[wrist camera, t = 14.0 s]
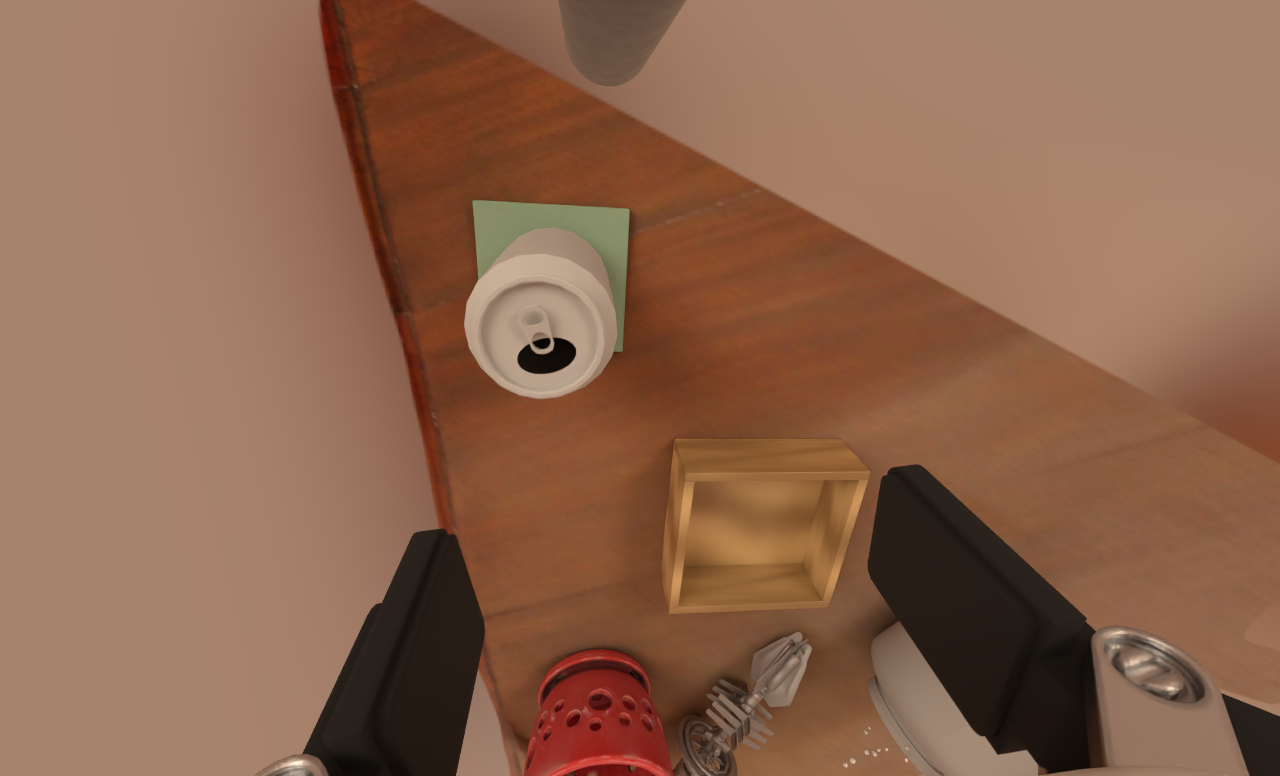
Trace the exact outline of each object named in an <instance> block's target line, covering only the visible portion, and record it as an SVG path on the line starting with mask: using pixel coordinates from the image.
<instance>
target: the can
mask: <svg viewBox="0 0 1280 776" xmlns="http://www.w3.org/2000/svg"><path fill="white" fill-rule="evenodd" d="M464 327H465V332H466V336H467V341H468V345H469V349H470V350H471V352H472V354H473V355H474V357H475V359H476V360H477V362H478V364H479V365H480V367H481V368H482V369H483V370H484V371H485V372H486V373H487V374H488V375H489V376H490V377H491V378H492V379H493V380H494V381H495V382H496V383H498V384H499V385H500V386H501V387H503V388H505V389H507V390H509V391H511V392H513V393H515V394H517V395H519V396H524V397H530V398H535V399H547V398H557V397H561V396H564V395H566V394H569V393H571V392H574V391H576V390H579V389H581V388H584V387H585V386H586V385H587V384H589V383H590V382H591V381H592V380H594V379H595V378H596V377H597V376H599V375H600V374H601V372H602V371H603V369H604V368H605V366H606V365H607V363H608V362H609V360H610V358H611V357H612V355H613V351H614V347H615V343H616V339H617V323H616V312H615V307H614V302H613V297H612V292H611V288H610V283H609V278H608V273H607V271H606V268H605V266H604V263H603V261H602V259H601V256H600V255H599V254H598V253H597V251H596V250H595V249H594V248H593V247H592V246H591V244H590V243H589V242H588V241H586V240H584V239H583V238H581V237H580V236H578V235H576V234H575V233H573V232H570V231H566V230H562V229H558V228H542V229H535V230H532V231H530V232H528V233H525V234H523V235H521V236H519V237H518V238H517V239H516V240H514V241H513V242H512V243H511V244H510V245H509V246H508V247H507V248H506V249H505V250H504V251H503V252H502V254H501V255H500V256H499V257H498V258H497V259H496V261H495V262H494V263H493V264H492V265H491V266H490V268H489V269H488V270H487V271H486V272H485V273H484V275H483V276H482V277H481V278H480V279H479V280H478V282H477V284H476V286H475V288H474V290H473V292H472V293H471V295H470V297H469V299H468V301H467V306H466V314H465V322H464Z"/></svg>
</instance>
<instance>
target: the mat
mask: <svg viewBox="0 0 1280 776" xmlns="http://www.w3.org/2000/svg"><path fill="white" fill-rule="evenodd" d="M473 213H474V226H475V239H476V252H477V266H478V279H480V278H481V277H482V276H483V275H484V273H485V272H486V271H487V270H488V269H489V268H490V266H491V265H492V264H493V263H494V262H495V261H496V259H497V258H498V257H499V256H500V255H501V254H502V252H503V251H504V250H505V249H506V248H507V247H508V246H509V245H510V244H511V243H512V242H513V241H514V240H516V239H517V238H518V237H519V236H521V235H523V234H525V233H528V232H530V231H532V230H535V229H542V228H558V229H562V230H566V231H570V232H573V233H575V234H576V235H578V236H580V237H581V238H583V239H584V240H586V241H588V242H589V243H590V244H591V246H592V247H593V248H594V249H595V250H596V251H597V253H598V254H599V255H600V256H601V259H602V261H603V263H604V266H605V268H606V271H607V273H608V278H609V283H610V288H611V292H612V297H613V302H614V307H615V312H616V323H617V339H616V343H615V347H614V351H613V352H622V351H623V334H624V314H625V295H626V275H627V255H628V235H629V216H630V209H625V208H608V207H590V206H573V205H555V204H538V203H521V202H503V201H486V200H473Z"/></svg>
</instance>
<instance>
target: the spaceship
mask: <svg viewBox="0 0 1280 776" xmlns="http://www.w3.org/2000/svg"><path fill="white" fill-rule="evenodd" d="M802 637H803V636H802V634H801V633H800V632H799V631H798V632H796V633H794V634H792V635H790V636H788V637H783V638H781V639H779V640H777V641H776V642H774V643H772V644H770V645H768V646H766V647H765V648H763V649H761V650H759V651H757V652H755V653H754V656H753V662H752V667H751V673H750V677H751V679H752V680H753V682H754V686H755V687H754V689H752V691H751V692H750V693H749V691H747V684H745V682H744V683H743V685H742V690H741V689H739V688H737V687H735V686H733V685H732V684H730V683H728V682H726V681H724V680H722V679H720V681H719V682H718V683H719V684H721V685H723V686H724V687H726V688H727V689H729V690H731V691H732V692H734V693H735V694H736V697H735V696H733V695H731V694H729V693H727V692H725V691H723V690H722V689H720V688H718V687H716V686H715V687H714V688H713V689H712V690H713V691H715V692H716V693H718V694H720V695H719V697H718V698H717V697H715V696H713V695H712V694H710V693H709V694H708V695H707V696H706V697H707V698H709V699H710V700H712V701H713V704H712V706H713V707H715V708H716V709H717V710H718V711H719V712H720V713H721V714H722V715H723V716H724V721H723V720H722V719H721V718H719V717H718V716H717V715H716V714H715V713H713V712H712V711H711V710H710V709H707V710H706V713H707V714H708V715H709V716H710V717H711V718H712V719H713V720H714V721H715V722H716V723H717V724H718V725H719V726H720V727H721V728H720V727H719V726H717V725H715V726H713V725H712V724H711V723H710V722H709V721H707V720H706V719H704V718H702V717H700V716H697V715H687V716H684V717H683V718H681V720H680V721H679V723H678V726H677V733H676V736H677V743H678V747H679V750H680V753H681V756H682V759H681V761H680V762H679V763H678V764H677V765H676V766H675V769H674V770H673V776H737V765H736V761H735V758H734V755H733V753H732V750H731V748H730V746H729V744H728V743H727V741H726V739H727V736H728V735H730V738H731V747H732V749H733V751H734V750H735V749H736V748H737V740H738V742H739V741H740V743H743V744H745V745H747V746H749V747H751V748H753V749H755V750H757V751H759V750H760V749H761V747H760V746H758V745H757V744H755V743H753V742H752V741H750V740H749V739H747V738H745V737H744V736H743V733H745V735H746V734H747V736H750V737H752V738H754V739H756V740H758V741H760V742H762V743H764V744H766V743H767V742H768V740H767V739H765V738H764V737H762V736H760V735H759V734H758V733H759V732H760V731H761V732H763V733H765V734H767V735H769V736H771V737H772V736H773V735H774V734H775V733H774V732H772V731H771V730H769V729H768V728H766V727H764V726H765V725H766V723H765V722H764V721H763V720H762V719H761V718H760V717H759V716H758V715H757V714H755V712H756V710H758V711H759V712H760V713H761V714H762V715H764V716H765V717H766V718H767V719H768V720H771V719H772V716H771V715H770V714H769V713H768V712H767V711H766V710H765V709H764V708H763V707H762V706H761V705H760V704H759V702H760V700H762V698H764V700H765V701H766V703H767V704H768V705H769V707H782V706H790V705H791V703H792V701H793V698H794V696H795V693H796V691H797V689H798V686H799V684H800V682H801V679H802V677H803V674H804V672H805V670H806V667H807V665H806V663H807V661H808V658H809V656H810V653H811V651H812V648H811V647H810V645H809V644H806V643H807V641H808V640H809V638H808V639H806V640H805V641H801V640H802ZM805 644H806V645H805ZM721 706H722V707H721ZM724 708H725V709H726V710H728V711H729V712H727V711H726V710H725V709H724ZM750 717H751V718H753V719H754V720H753V719H751V718H750ZM684 728H685V730H684ZM683 732H684V733H683ZM691 735H695V736H698V737H699V736H700V737H701V740H702V741H701V740H700V742H699V740H698V739H697V740H698V742H697V741H696V740H694V739H692V736H691ZM696 738H697V737H696ZM702 738H704V739H705V741H703V739H702ZM699 739H700V738H699ZM691 742H692V745H691ZM702 742H703V743H702ZM701 743H702V744H701ZM693 744H694V745H696V746H697V747H698V748H699V749H698V750H696V751H695V749H694V745H693ZM712 759H713V760H712ZM714 760H716V761H717V762H718V763H719V764H720V770H719V768H718V767H717V765H716V763H715V761H714ZM711 761H712V763H713V765H714V763H715V765H716V767H715V765H714V767H715V769H716V770H717V768H718V770H719V771H718V770H717V771H715V770H714V768H713V767H712V768H713V770H714V771H713V770H712V769H711V768H709V767H708V763H709V762H711ZM713 761H714V762H713ZM710 764H711V763H710ZM711 766H712V764H711ZM708 769H710V770H711V771H710V770H708Z"/></svg>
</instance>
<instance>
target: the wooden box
mask: <svg viewBox="0 0 1280 776" xmlns="http://www.w3.org/2000/svg"><path fill="white" fill-rule="evenodd" d="M870 473H871V472H870V471H869V469H868V468H867V467H866V466H865V465H864V464H863V463H862V462H861V461H860V460H859V458H858V457H857V456H856V455H855V454H854V453H853V452H852V451H851V450H850V449H849V448H848V446H847V445H846V444H845V443H844V442H843V441H842V440H841V439H674V448H673V457H672V466H671V476H670V485H669V495H668V504H667V513H666V523H665V532H664V541H663V551H662V560H661V570H660V571H661V576H662V582H663V587H664V592H665V598H666V603H667V609H668V614H686V613H709V612H733V611H756V610H779V609H802V608H825V607H829V605H830V601H831V598H832V595H833V592H834V589H835V586H836V582H837V579H838V576H839V573H840V569H841V566H842V563H843V560H844V557H845V553H846V550H847V547H848V544H849V541H850V537H851V534H852V531H853V528H854V525H855V521H856V518H857V515H858V512H859V508H860V505H861V502H862V499H863V496H864V492H865V489H866V486H867V483H868V479H869V476H870Z"/></svg>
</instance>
